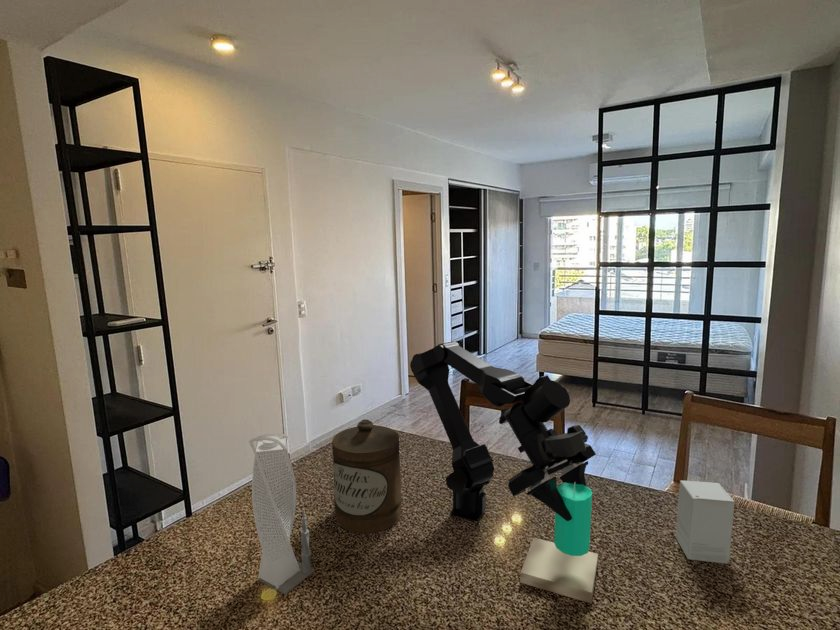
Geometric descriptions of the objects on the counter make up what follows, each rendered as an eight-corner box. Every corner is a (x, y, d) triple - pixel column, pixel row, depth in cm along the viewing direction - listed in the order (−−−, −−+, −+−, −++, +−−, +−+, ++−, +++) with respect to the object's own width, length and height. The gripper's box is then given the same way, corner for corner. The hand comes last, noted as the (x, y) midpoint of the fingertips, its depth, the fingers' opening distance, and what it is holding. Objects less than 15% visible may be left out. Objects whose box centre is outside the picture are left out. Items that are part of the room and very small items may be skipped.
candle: (595, 545, 84) (599, 482, 82) (579, 561, 80) (583, 495, 78) (564, 530, 89) (567, 470, 87) (547, 545, 84) (550, 482, 82)
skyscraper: (278, 600, 81) (268, 444, 77) (247, 582, 85) (236, 434, 81) (314, 571, 88) (306, 427, 84) (283, 556, 92) (275, 419, 88)
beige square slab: (520, 582, 85) (520, 572, 84) (533, 546, 94) (533, 537, 94) (591, 603, 80) (592, 592, 79) (597, 563, 89) (597, 553, 89)
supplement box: (730, 564, 89) (736, 502, 87) (686, 560, 90) (691, 498, 88) (714, 540, 96) (719, 482, 94) (674, 536, 97) (678, 478, 95)
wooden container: (322, 525, 102) (317, 428, 99) (356, 491, 116) (353, 405, 113) (383, 540, 97) (381, 438, 94) (412, 503, 111) (410, 413, 107)
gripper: (523, 426, 78) (577, 518, 71) (589, 402, 89) (642, 480, 82) (488, 453, 86) (534, 540, 79) (553, 428, 97) (598, 502, 90)
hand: (579, 514), depth 82 cm, fingers closed on candle, 5 cm apart
